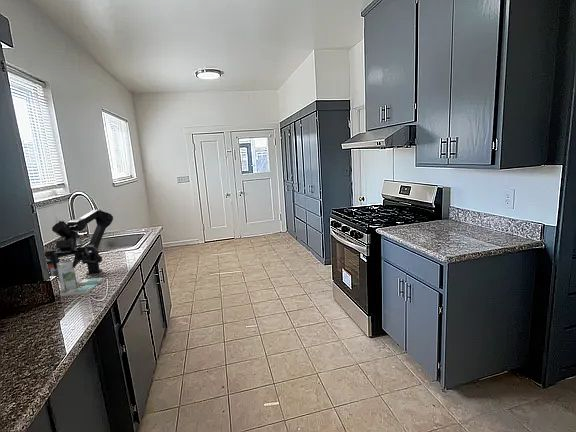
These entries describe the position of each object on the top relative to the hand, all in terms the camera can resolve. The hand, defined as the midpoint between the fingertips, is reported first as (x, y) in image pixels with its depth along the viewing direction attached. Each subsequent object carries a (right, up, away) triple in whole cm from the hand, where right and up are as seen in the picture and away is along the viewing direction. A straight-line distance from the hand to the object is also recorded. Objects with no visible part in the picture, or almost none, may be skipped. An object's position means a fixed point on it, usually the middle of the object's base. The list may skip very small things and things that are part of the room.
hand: (64, 268), depth 166 cm
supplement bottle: (-20, -9, +20) cm, 30 cm away
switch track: (+4, -11, +4) cm, 12 cm away
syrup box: (0, -11, +4) cm, 12 cm away
